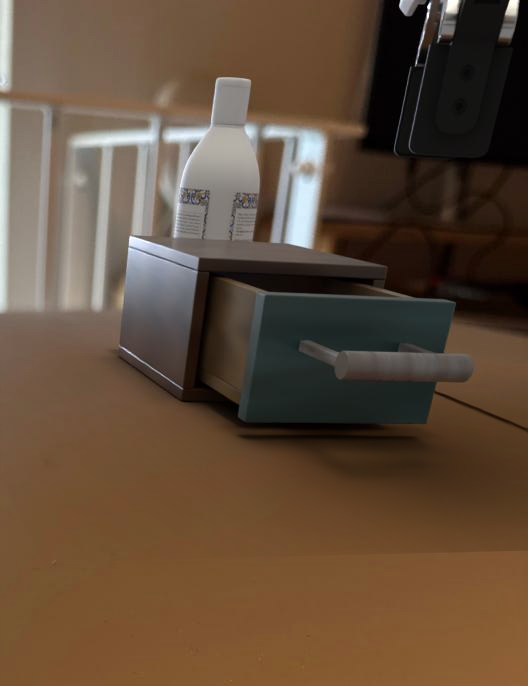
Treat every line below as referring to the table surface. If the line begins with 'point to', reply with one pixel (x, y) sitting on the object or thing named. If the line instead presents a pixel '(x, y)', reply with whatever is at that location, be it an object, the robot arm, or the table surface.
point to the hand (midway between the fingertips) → (434, 156)
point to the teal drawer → (325, 349)
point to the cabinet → (202, 298)
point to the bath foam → (221, 173)
